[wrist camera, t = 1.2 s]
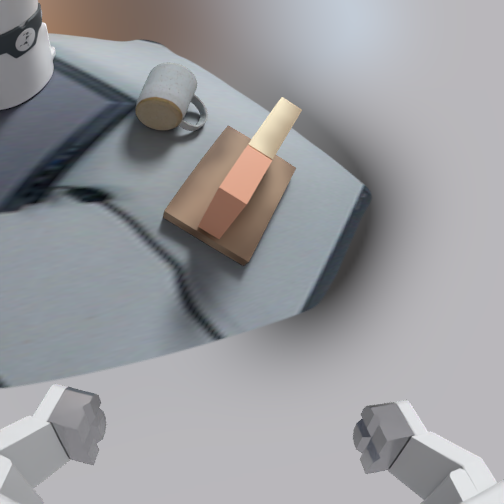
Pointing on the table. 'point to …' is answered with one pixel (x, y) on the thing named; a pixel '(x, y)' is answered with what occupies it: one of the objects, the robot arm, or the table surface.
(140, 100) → the ceramic mug
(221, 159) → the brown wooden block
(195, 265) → the table surface
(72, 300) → the table surface
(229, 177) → the block
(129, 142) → the table surface
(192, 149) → the table surface
